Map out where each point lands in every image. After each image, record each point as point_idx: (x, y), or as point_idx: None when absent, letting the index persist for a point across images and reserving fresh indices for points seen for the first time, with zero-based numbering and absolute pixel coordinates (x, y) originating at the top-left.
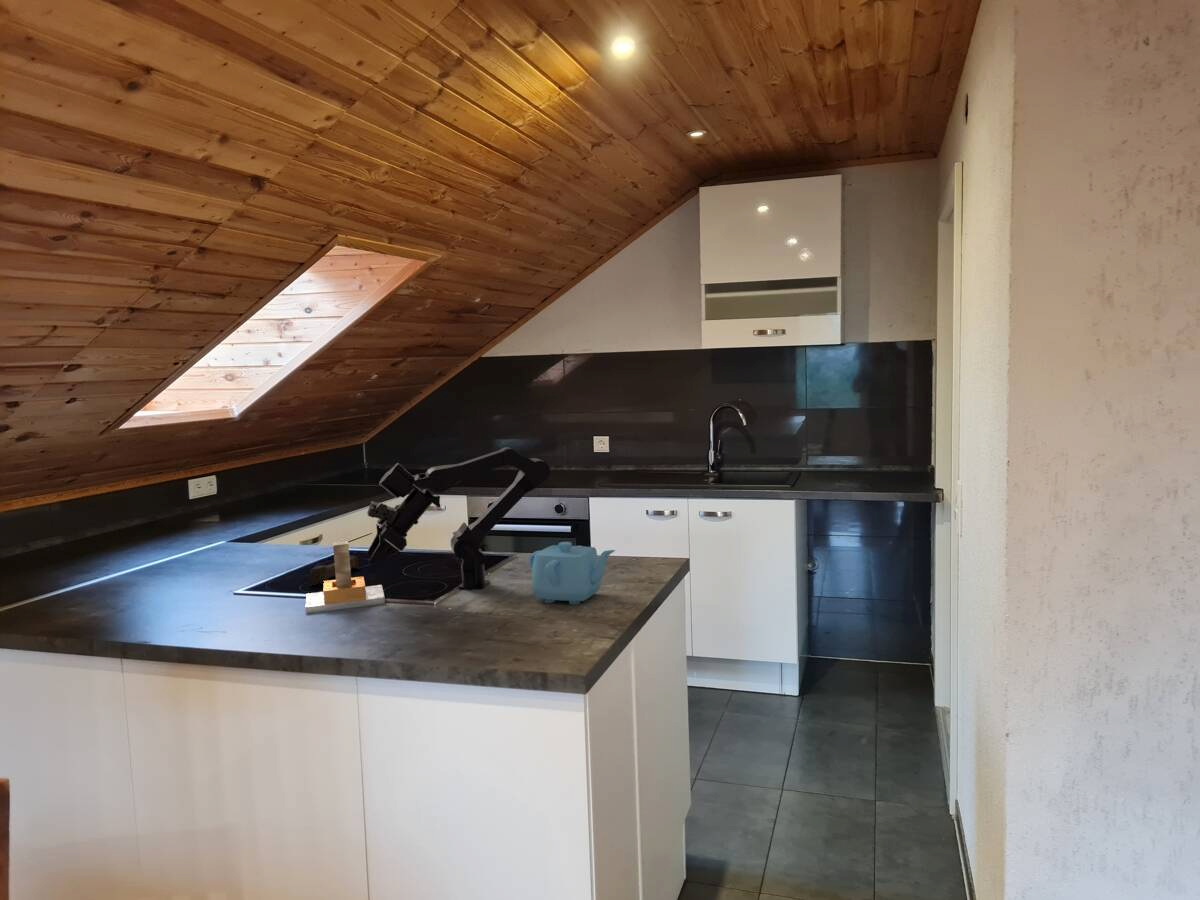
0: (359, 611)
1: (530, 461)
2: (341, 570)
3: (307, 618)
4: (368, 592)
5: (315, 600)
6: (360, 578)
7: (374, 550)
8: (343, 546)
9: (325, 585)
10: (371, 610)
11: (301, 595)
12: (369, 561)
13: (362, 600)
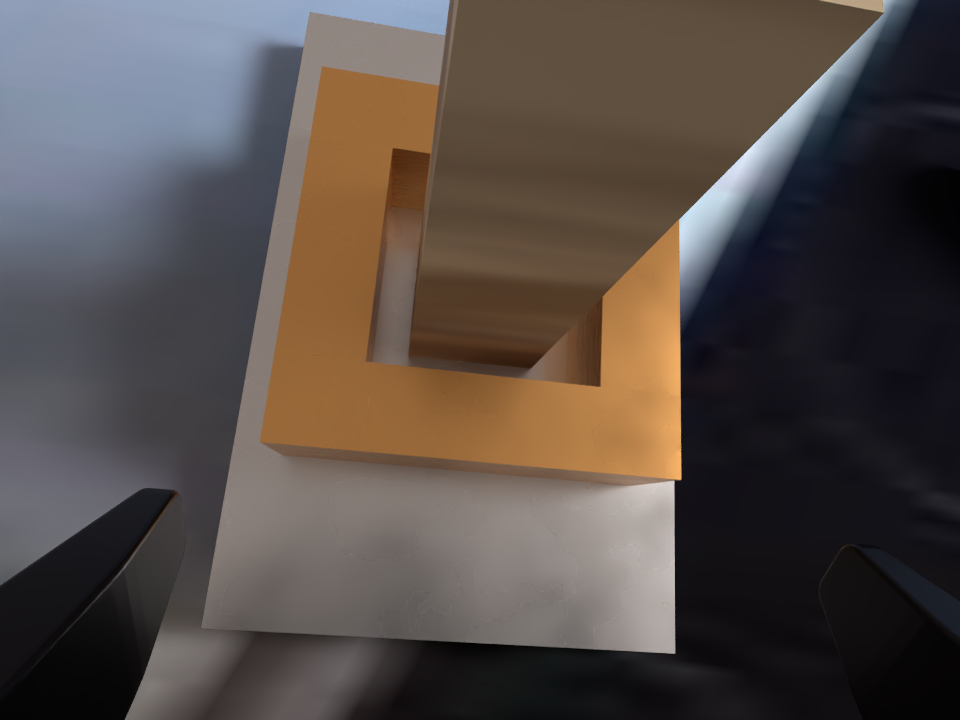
0: (118, 379)
1: None
2: (432, 154)
3: (187, 37)
4: (470, 501)
5: None
6: (611, 439)
7: (900, 709)
8: None
9: None
10: (79, 475)
11: None
12: (127, 507)
13: (239, 417)
